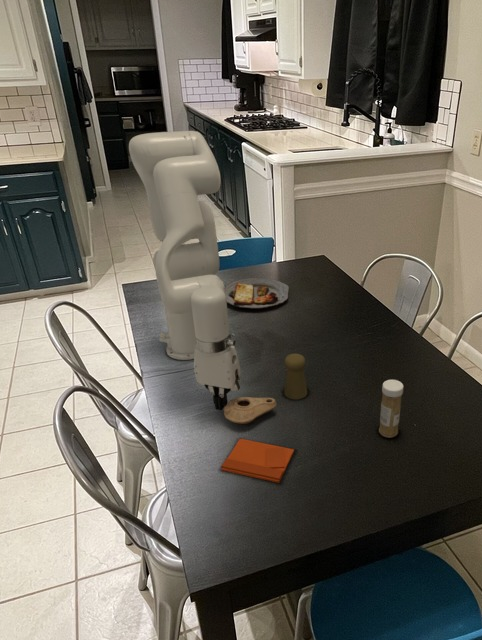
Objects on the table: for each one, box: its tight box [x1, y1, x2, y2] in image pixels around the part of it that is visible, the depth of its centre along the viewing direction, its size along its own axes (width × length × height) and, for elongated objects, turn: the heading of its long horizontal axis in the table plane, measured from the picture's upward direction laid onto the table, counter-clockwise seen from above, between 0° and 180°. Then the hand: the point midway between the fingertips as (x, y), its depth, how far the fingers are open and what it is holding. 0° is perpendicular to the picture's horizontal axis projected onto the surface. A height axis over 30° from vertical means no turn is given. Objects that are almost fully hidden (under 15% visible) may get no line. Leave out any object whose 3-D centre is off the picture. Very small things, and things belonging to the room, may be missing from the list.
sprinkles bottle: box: [378, 379, 404, 439], centre depth 113 cm, size 5×5×13 cm
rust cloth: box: [220, 438, 295, 484], centre depth 109 cm, size 13×10×1 cm
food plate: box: [224, 277, 290, 310], centre depth 180 cm, size 25×23×4 cm
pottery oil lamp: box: [223, 396, 277, 425], centre depth 120 cm, size 9×12×7 cm
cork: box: [283, 353, 308, 400], centre depth 127 cm, size 6×6×11 cm
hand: (221, 406), depth 122 cm, fingers closed
